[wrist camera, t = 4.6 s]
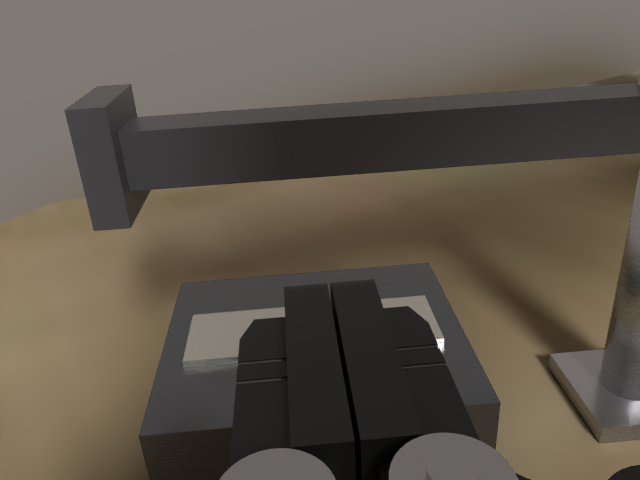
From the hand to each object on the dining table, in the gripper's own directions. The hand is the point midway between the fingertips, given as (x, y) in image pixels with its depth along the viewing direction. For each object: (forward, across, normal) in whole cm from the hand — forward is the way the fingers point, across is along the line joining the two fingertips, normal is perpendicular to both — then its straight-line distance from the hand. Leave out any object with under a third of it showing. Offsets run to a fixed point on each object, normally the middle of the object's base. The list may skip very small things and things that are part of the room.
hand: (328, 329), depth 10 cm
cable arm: (+12, -4, +2) cm, 12 cm away
